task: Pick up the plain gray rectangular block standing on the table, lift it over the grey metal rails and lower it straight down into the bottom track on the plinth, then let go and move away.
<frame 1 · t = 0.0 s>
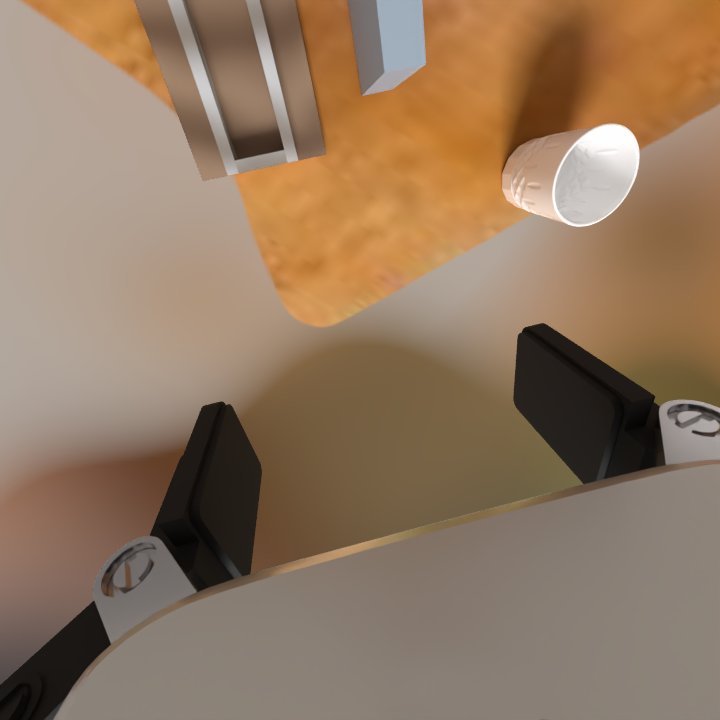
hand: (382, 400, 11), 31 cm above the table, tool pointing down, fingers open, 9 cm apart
white cup: (528, 174, 38), on the table
track plinth: (227, 32, 29), on the table
plain gray rectangular block: (366, 5, 29), on the table
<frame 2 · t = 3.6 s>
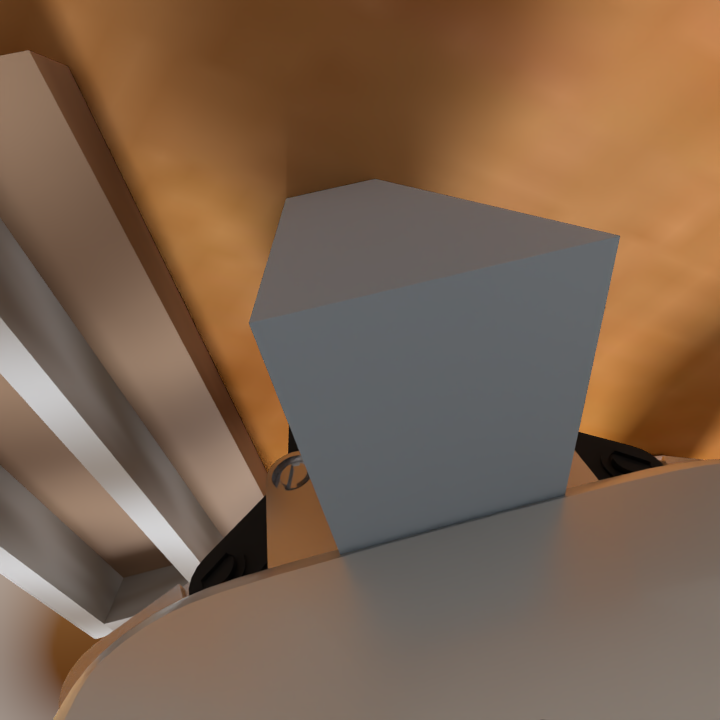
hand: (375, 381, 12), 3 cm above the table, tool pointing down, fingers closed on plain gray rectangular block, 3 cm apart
track plinth: (74, 413, 14), on the table
plain gray rectangular block: (363, 345, 14), on the table, touching gripper
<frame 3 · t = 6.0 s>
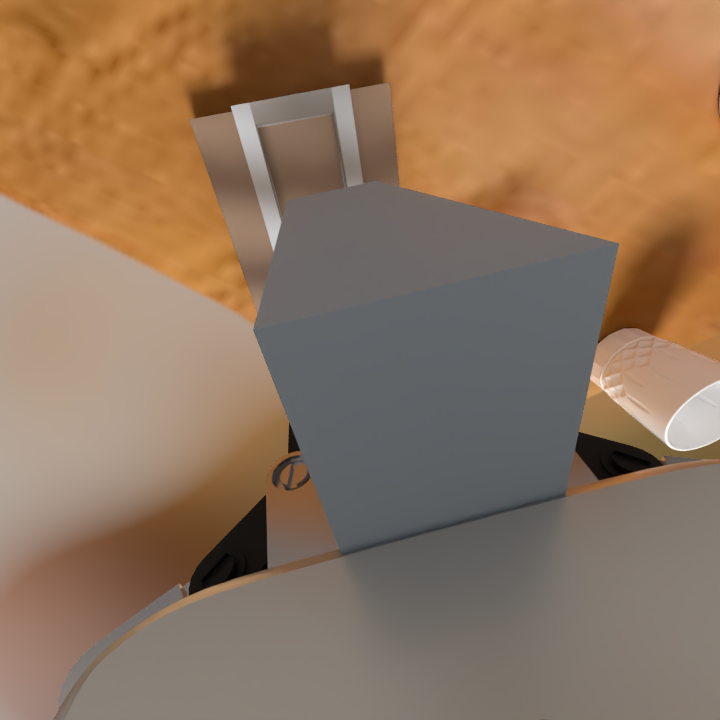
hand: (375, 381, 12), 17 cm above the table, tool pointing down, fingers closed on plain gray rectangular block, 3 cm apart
white cup: (613, 354, 36), on the table
track plinth: (325, 261, 27), on the table
plain gray rectangular block: (363, 346, 14), point 14 cm above the table, touching gripper
when the fingers open (5 cm above the table, at t = 8.6 s): plain gray rectangular block stays where it is, resting on track plinth.
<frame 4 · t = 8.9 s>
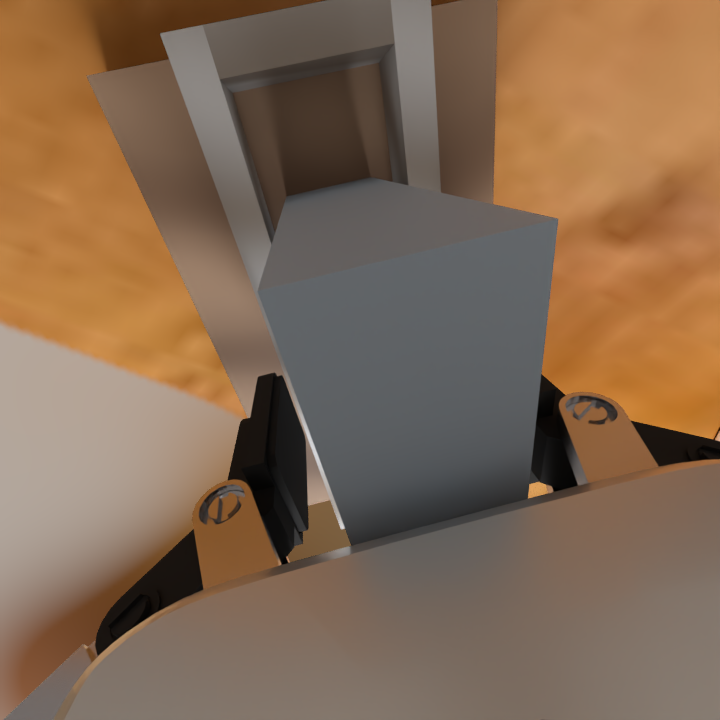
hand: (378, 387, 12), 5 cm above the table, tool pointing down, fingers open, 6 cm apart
track plinth: (355, 323, 16), on the table
plain gray rectangular block: (361, 336, 15), point 1 cm above the table, touching track plinth
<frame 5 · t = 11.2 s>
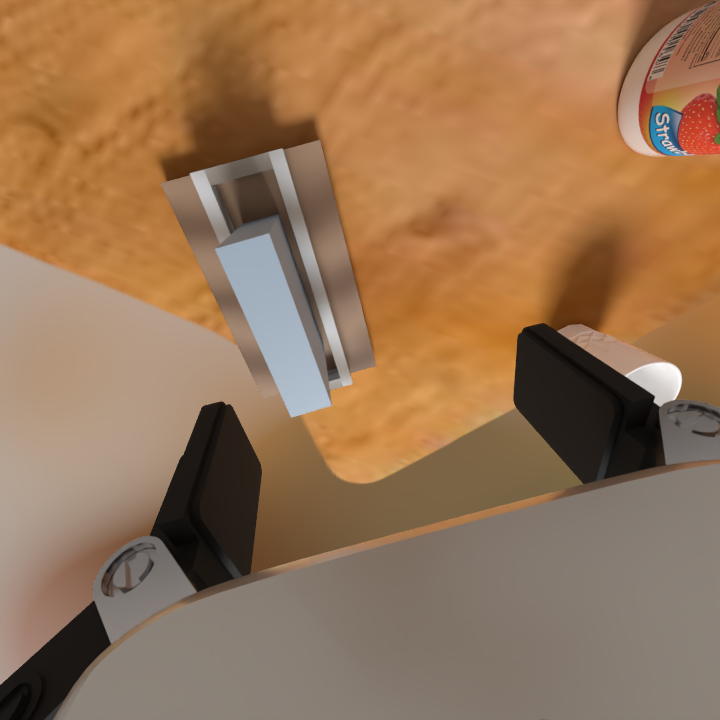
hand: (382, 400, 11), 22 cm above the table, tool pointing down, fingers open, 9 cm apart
white cup: (564, 349, 40), on the table
track plinth: (287, 285, 31), on the table
plain gray rectangular block: (287, 289, 30), point 1 cm above the table, touching track plinth
fruit juice: (665, 91, 28), on the table
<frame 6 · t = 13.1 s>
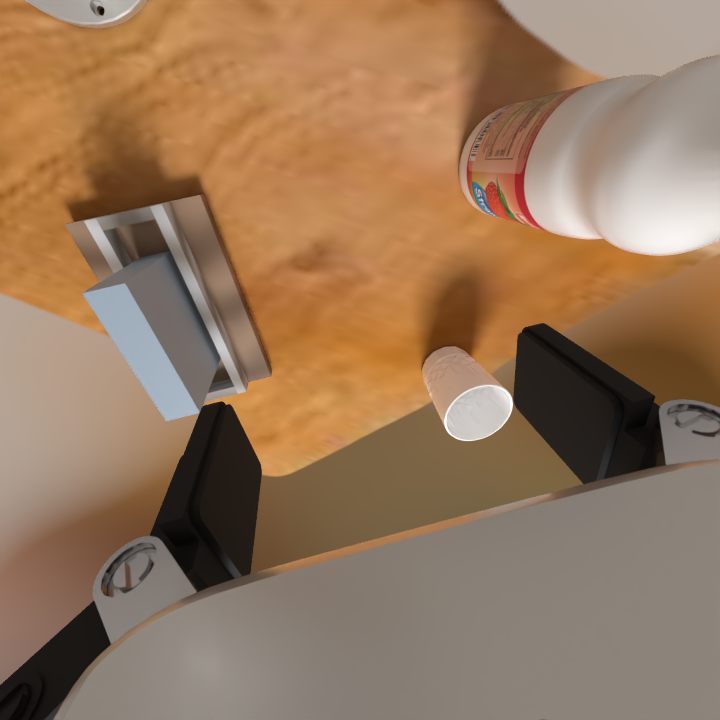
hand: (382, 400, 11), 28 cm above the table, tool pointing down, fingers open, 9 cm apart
white cup: (444, 366, 46), on the table
track plinth: (187, 306, 37), on the table
plain gray rectangular block: (184, 311, 35), point 1 cm above the table, touching track plinth
fruit juice: (499, 163, 35), on the table
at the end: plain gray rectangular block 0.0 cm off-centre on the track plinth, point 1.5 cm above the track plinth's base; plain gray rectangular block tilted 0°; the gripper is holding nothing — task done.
